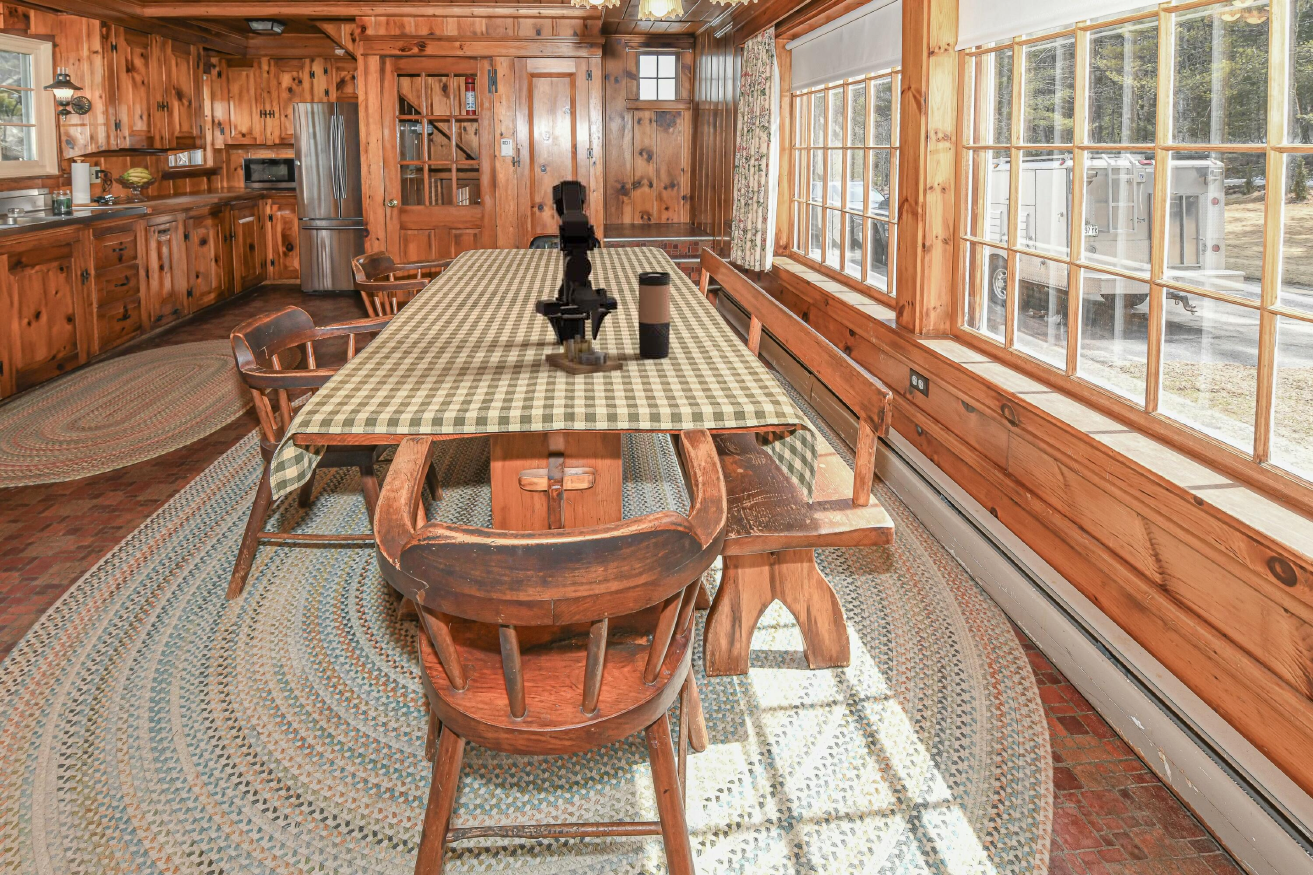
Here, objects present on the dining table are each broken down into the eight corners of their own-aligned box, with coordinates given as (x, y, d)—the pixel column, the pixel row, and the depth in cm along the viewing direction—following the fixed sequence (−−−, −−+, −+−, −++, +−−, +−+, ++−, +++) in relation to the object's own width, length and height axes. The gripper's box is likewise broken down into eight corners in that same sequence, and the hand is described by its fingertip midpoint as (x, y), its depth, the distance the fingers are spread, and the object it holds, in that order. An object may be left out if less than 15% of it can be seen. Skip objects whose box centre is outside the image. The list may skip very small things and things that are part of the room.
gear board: (590, 355, 234) (590, 329, 232) (622, 369, 220) (622, 341, 218) (545, 360, 228) (544, 333, 227) (575, 375, 214) (574, 346, 212)
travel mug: (669, 352, 238) (669, 271, 232) (670, 359, 231) (671, 275, 225) (638, 352, 238) (638, 271, 232) (638, 359, 230) (638, 275, 225)
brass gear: (585, 352, 231) (584, 338, 230) (597, 357, 225) (597, 342, 224) (558, 355, 228) (558, 340, 227) (570, 360, 222) (570, 345, 221)
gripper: (552, 281, 210) (554, 351, 214) (628, 276, 218) (628, 344, 223) (533, 275, 219) (535, 343, 223) (606, 271, 228) (607, 336, 232)
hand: (577, 341), depth 225 cm, fingers open, 8 cm apart
